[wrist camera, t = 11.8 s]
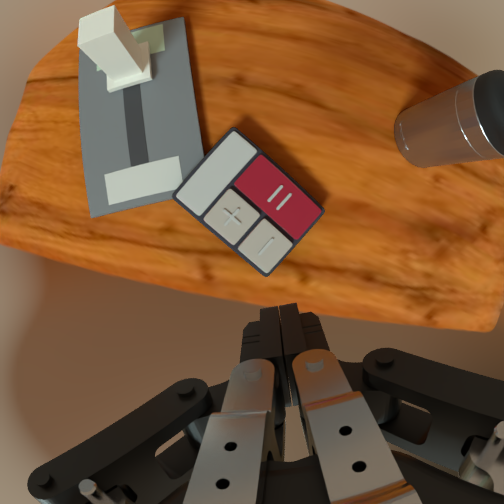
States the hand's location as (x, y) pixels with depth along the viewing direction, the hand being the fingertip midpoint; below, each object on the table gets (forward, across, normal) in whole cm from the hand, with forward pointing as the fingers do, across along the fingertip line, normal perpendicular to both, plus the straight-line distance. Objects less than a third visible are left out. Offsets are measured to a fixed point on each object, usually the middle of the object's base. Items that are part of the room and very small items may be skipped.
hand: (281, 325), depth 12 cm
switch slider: (+26, +14, -24) cm, 38 cm away
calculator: (+27, +2, -2) cm, 27 cm away
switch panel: (+27, +14, -18) cm, 35 cm away
